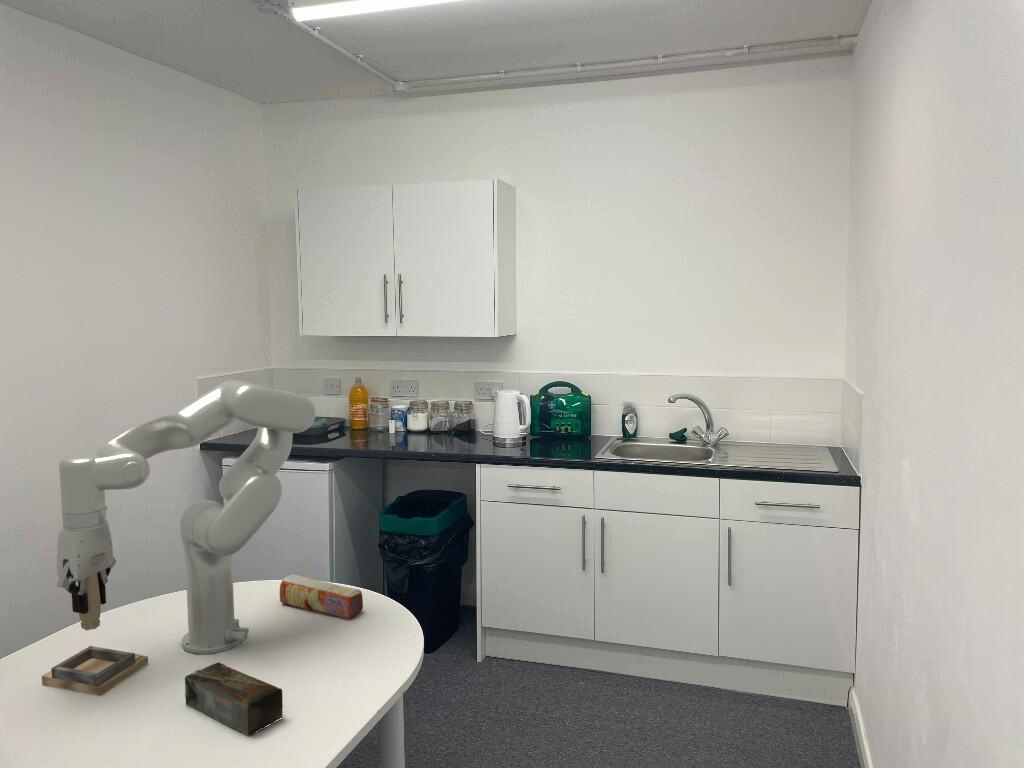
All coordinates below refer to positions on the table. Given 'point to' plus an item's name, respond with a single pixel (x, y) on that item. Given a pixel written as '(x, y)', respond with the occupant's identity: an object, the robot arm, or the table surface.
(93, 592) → the handle
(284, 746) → the table surface
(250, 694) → the beverage carton
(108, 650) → the wooden tray
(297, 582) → the snack package
